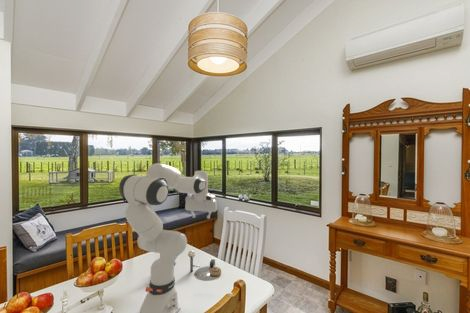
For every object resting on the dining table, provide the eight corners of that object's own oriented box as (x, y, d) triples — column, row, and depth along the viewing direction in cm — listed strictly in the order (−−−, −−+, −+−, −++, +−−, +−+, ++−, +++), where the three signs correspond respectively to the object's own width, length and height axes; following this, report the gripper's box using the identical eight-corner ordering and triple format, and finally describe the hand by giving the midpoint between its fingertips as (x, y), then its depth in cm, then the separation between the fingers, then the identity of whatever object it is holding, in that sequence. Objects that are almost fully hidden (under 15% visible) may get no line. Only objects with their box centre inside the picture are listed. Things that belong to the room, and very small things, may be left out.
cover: (219, 277, 140) (219, 271, 140) (208, 276, 141) (208, 270, 141) (222, 271, 147) (222, 266, 147) (211, 270, 148) (211, 265, 148)
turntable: (217, 283, 135) (217, 276, 135) (190, 280, 139) (190, 273, 139) (225, 266, 155) (225, 260, 155) (201, 263, 159) (201, 258, 159)
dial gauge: (187, 274, 146) (187, 251, 146) (189, 271, 150) (189, 249, 150) (199, 276, 144) (199, 253, 144) (201, 272, 148) (201, 250, 148)
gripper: (183, 196, 142) (183, 218, 143) (215, 197, 138) (215, 220, 139) (187, 194, 148) (187, 215, 149) (217, 195, 145) (217, 217, 145)
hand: (201, 218), depth 144 cm, fingers open, 8 cm apart
